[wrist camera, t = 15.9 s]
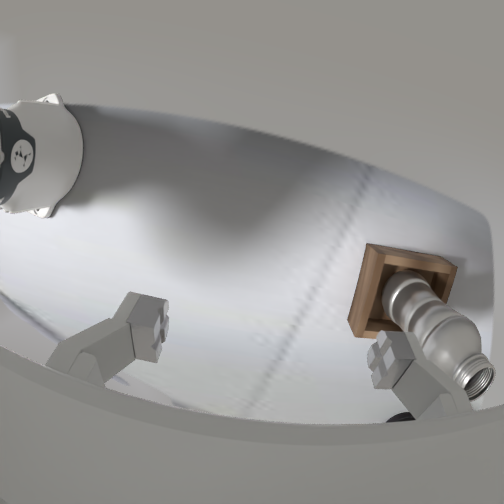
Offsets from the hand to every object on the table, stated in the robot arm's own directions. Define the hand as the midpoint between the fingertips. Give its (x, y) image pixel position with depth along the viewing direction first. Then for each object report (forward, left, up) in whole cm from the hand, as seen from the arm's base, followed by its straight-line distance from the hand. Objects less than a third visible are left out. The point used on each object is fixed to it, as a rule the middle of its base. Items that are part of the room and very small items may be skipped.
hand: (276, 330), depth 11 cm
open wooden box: (+17, -6, -25) cm, 31 cm away
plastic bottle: (+17, -6, -25) cm, 31 cm away
